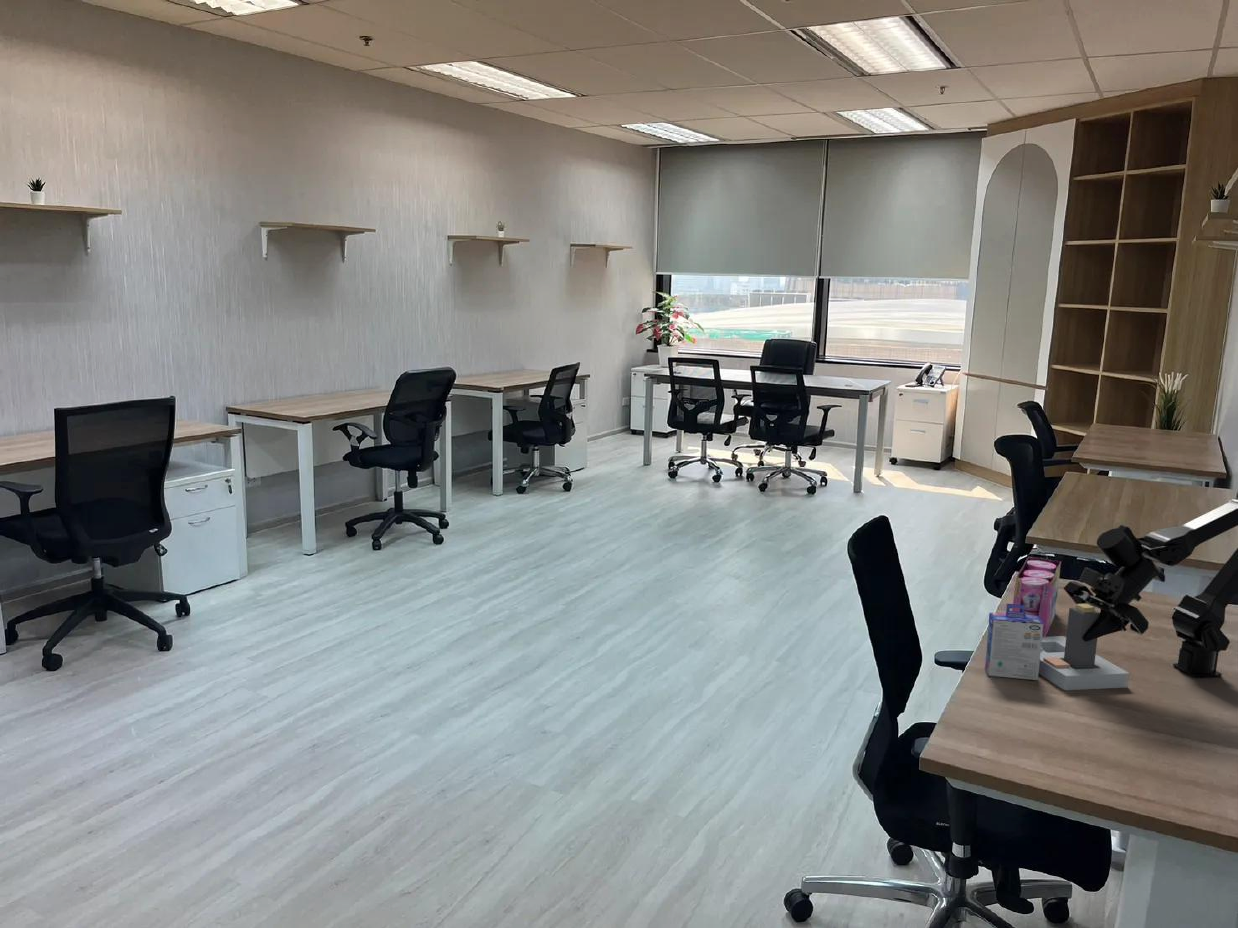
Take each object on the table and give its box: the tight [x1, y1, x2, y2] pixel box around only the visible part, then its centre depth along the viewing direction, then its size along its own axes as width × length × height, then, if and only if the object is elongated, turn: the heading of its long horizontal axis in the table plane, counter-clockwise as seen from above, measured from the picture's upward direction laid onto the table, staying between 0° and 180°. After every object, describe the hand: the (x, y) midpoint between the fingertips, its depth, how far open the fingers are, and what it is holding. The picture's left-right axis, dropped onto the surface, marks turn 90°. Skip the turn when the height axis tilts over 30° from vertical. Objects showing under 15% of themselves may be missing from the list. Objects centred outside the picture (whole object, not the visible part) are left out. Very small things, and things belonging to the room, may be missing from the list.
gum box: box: [1011, 556, 1062, 637], centre depth 221 cm, size 24×8×14 cm, turn 149°
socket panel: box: [1038, 635, 1130, 691], centre depth 194 cm, size 14×21×4 cm, turn 9°
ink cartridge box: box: [984, 603, 1044, 681], centre depth 190 cm, size 10×6×14 cm, turn 79°
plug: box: [1064, 603, 1100, 669], centre depth 189 cm, size 4×4×13 cm
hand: (1076, 636), depth 188 cm, fingers closed on plug, 4 cm apart
